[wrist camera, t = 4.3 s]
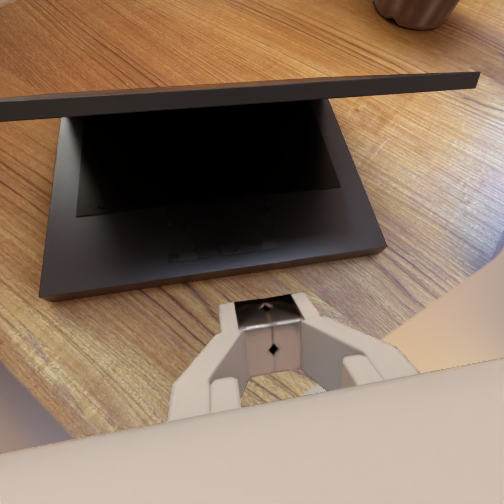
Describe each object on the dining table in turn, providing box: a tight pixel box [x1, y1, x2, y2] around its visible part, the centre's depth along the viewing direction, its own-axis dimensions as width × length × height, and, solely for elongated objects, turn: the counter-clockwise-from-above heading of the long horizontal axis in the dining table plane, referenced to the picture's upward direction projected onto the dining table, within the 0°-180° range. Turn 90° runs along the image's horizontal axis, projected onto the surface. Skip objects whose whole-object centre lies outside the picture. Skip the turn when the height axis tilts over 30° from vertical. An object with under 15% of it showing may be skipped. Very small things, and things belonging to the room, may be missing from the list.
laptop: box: [39, 99, 387, 302], centre depth 29 cm, size 22×30×2 cm
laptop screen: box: [0, 72, 481, 122], centre depth 23 cm, size 22×30×1 cm
